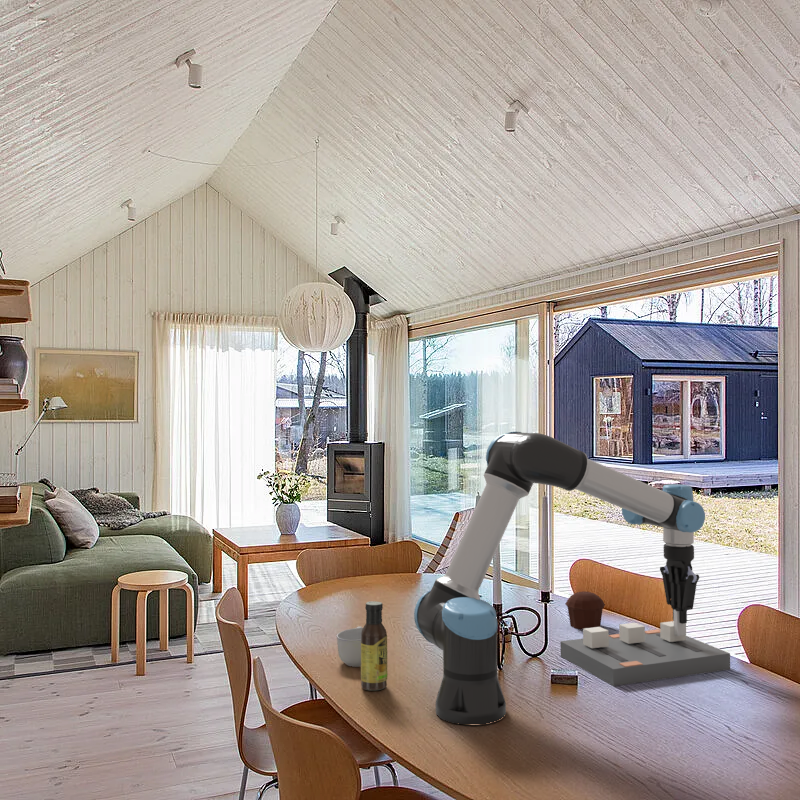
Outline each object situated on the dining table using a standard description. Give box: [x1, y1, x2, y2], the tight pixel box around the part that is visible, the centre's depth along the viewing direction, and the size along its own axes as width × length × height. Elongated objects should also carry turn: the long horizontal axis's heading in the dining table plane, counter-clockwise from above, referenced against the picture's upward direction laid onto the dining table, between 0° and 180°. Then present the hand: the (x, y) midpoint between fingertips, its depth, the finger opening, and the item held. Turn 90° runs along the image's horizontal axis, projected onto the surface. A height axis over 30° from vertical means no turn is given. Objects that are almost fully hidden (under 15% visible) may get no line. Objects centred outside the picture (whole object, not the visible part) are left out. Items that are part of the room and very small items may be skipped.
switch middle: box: [618, 622, 646, 644], centre depth 206 cm, size 4×5×4 cm
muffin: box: [565, 591, 606, 631], centre depth 237 cm, size 12×11×10 cm
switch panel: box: [559, 629, 731, 687], centre depth 202 cm, size 24×34×4 cm
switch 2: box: [659, 620, 687, 642], centre depth 208 cm, size 4×5×4 cm
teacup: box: [336, 626, 363, 668], centre depth 206 cm, size 14×11×8 cm
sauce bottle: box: [360, 600, 388, 692], centre depth 186 cm, size 6×6×20 cm
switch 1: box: [582, 626, 610, 648], centre depth 203 cm, size 4×5×4 cm
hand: (680, 634), depth 205 cm, fingers closed
